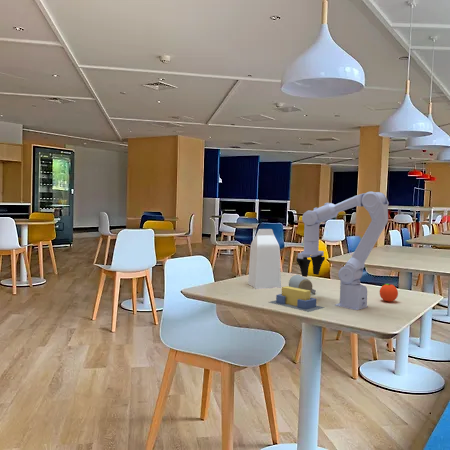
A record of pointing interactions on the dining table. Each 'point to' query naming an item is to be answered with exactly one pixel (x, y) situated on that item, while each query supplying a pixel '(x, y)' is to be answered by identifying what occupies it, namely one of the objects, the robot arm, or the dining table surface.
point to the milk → (264, 261)
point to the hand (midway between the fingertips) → (310, 275)
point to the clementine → (388, 292)
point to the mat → (296, 306)
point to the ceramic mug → (301, 283)
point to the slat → (295, 295)
